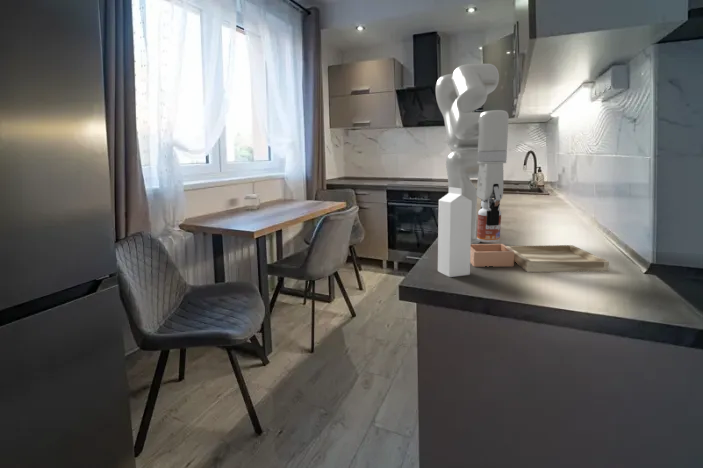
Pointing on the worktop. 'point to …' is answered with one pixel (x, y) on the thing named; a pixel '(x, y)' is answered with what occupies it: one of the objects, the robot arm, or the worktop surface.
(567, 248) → the tray
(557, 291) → the worktop surface
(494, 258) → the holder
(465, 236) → the milk
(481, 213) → the pill bottle
